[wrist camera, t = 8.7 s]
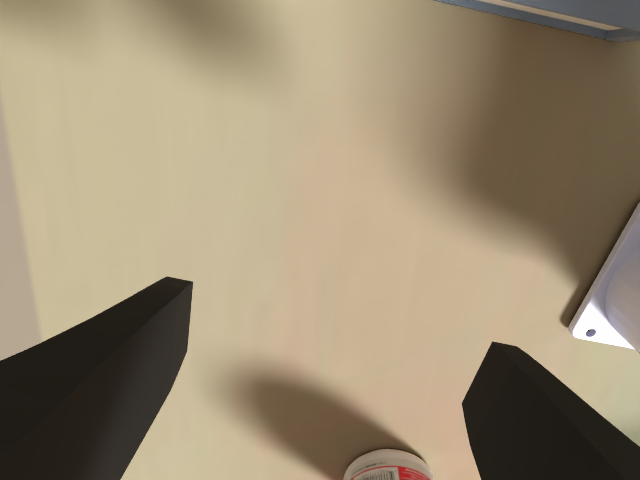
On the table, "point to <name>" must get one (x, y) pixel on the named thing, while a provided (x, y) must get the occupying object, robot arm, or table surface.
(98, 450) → the robot arm
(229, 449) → the table surface
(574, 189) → the table surface
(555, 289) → the table surface
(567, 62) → the table surface
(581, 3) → the book
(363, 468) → the pill bottle
